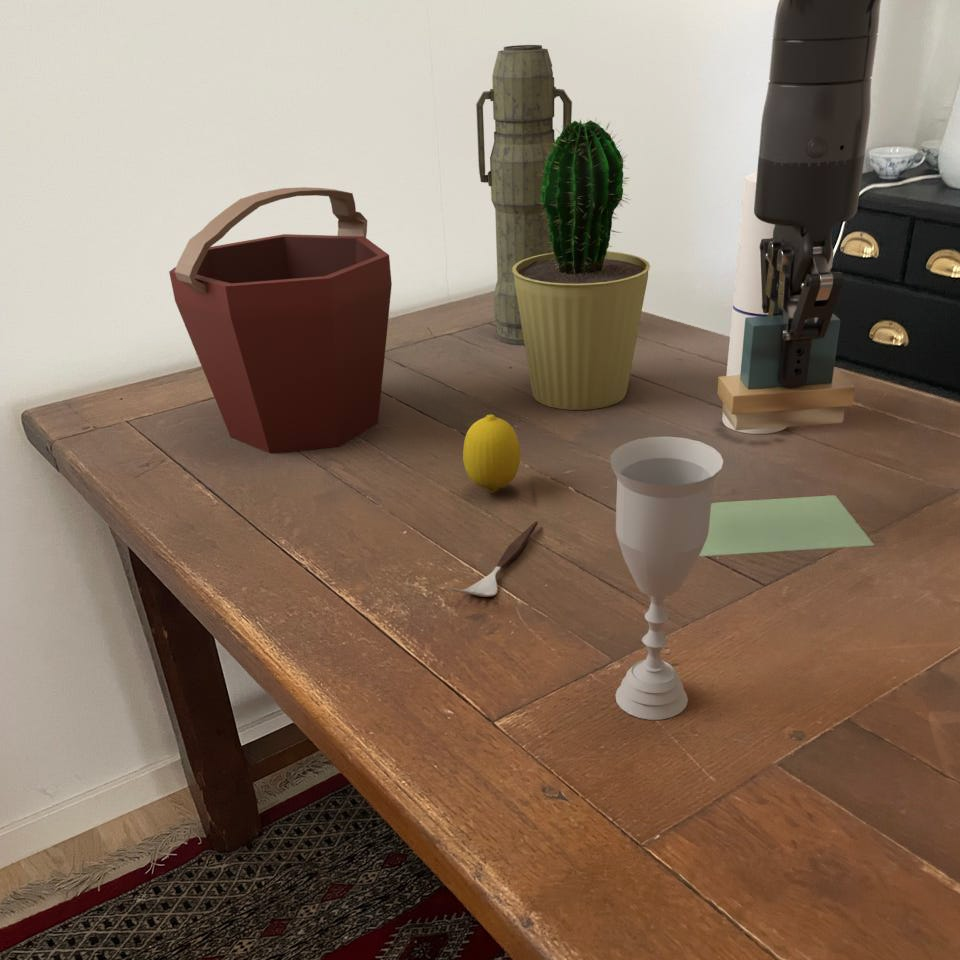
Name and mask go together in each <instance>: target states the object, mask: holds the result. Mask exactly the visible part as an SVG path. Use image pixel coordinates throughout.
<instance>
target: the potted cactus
mask: <svg viewBox="0 0 960 960" xmlns="http://www.w3.org/2000/svg"><path fill="white" fill-rule="evenodd" d="M594 119H595V120H594V121H593V120H591V119H590V120H589V119H588V118H587V119H586V120H587V121H586V122H583V121H582V119H580V120H579V121H577V120H573V121H571V123H570V124H568V125H566V127H565V128H563V127H561V128H562V131H561V132H560V131H559V129H556V131H557V132H558V133H559V136H557V137H556V139H555V136H554V137H553V138H554V139H553V140H554V141H555V142H554V143H552V142H551V143H552V145H553V150H552V153H551V154H550V153H549V152H548V151H547V152H548V153H549V156H548V158H547V160H546V162H545V161H544V162H545V168H544V171H543V172H544V173H543V174H541V173H539V174H541V175H542V176H543V178H542V184H543V185H542V187H541V198H539V199H541V202H540V203H535V204H542V205H543V206H542V207H543V208H544V210H545V212H546V214H547V216H548V228H549V230H548V231H549V233H550V234H549V233H548V234H547V236H548V235H550V242H545V243H551V244H550V245H552V248H553V252H554V253H553V252H552V253H548V254H542V255H537V256H533V257H530V258H527V259H524V260H522V261H519V262H518V263H516V264H515V265H514V266H513V267H512V272H513V273H514V281H515V288H516V294H517V300H518V306H519V313H520V319H521V325H522V331H523V337H524V344H525V345H524V350H525V357H526V363H527V368H528V375H529V381H530V386H531V387H530V388H531V393H532V396H533V398H534V400H536V401H537V402H538V403H540V404H542V405H544V406H547V407H549V408H554V409H560V410H569V411H586V410H589V411H590V410H596V409H603V408H606V407H610V406H613V405H615V404H617V403H619V402H621V401H622V400H623V399H625V397H626V395H627V392H628V388H629V381H630V377H631V371H632V366H633V361H634V354H635V350H636V343H637V339H638V333H639V329H640V323H641V317H642V312H643V306H644V300H645V295H646V290H647V285H648V280H649V271H650V268H651V265H650V263H649V261H647V260H646V259H644V258H642V257H640V256H637V255H634V254H629V253H626V252H618V251H609V250H608V249H609V248H610V247H611V248H612V247H613V248H614V246H613V245H610V241H611V232H612V233H614V235H616V233H617V234H618V233H619V234H621V233H623V232H622V231H616V230H613V229H612V227H613V220H618V217H615V216H617V214H616V213H615V210H616V209H620V206H621V207H624V206H623V205H624V204H623V203H622V202H624V203H627V205H628V204H629V205H630V203H629V202H627V200H628V201H631V199H630V198H628V196H629V194H625V193H624V189H625V188H624V187H625V186H626V185H627V179H629V177H624V171H623V170H624V162H625V159H626V157H628V154H627V153H626V154H625V156H624V152H622V150H620V149H619V147H620V145H621V144H620V145H618V143H620V142H621V141H622V139H620V140H619V141H618V143H616V142H615V141H614V138H615V137H616V135H617V134H614V135H613V137H612V136H611V135H612V134H613V131H611V132H610V133H609V132H607V130H608V129H609V126H610V124H611V122H607V125H606V127H605V128H603V127H601V126H600V125H601V123H599V122H601V120H600V119H599V122H597V118H594ZM567 120H568V119H566V122H567ZM568 122H569V121H568ZM547 142H548V141H547ZM551 143H550V144H551ZM617 145H618V146H617ZM545 147H547V146H546V145H545ZM548 148H549V149H550V147H549V146H548ZM551 149H552V147H551ZM621 152H622V153H621ZM544 159H546V158H545V157H544ZM626 169H629V168H628V167H626ZM536 173H537V172H536ZM536 175H538V174H536ZM541 175H539V176H541ZM538 187H540V186H538ZM623 195H625V196H627V197H624V196H623ZM624 199H626V200H624ZM537 206H538V205H537ZM539 208H541V207H539ZM537 209H538V208H537ZM544 210H543V211H544ZM543 211H542V212H543ZM543 214H544V213H543ZM543 214H541V215H543ZM541 215H540V216H541ZM544 215H545V214H544ZM614 215H615V216H614ZM540 216H539V217H540ZM543 218H544V217H543ZM543 218H542V219H543ZM542 219H541V220H542ZM541 220H540V221H541ZM546 221H547V220H546ZM545 226H546V225H545ZM545 237H546V236H545ZM550 248H551V247H550ZM550 248H549V249H550ZM547 250H548V249H547ZM547 250H546V251H547Z"/></svg>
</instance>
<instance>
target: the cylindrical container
mask: <svg viewBox="0 0 960 960" xmlns="http://www.w3.org/2000/svg"><path fill="white" fill-rule="evenodd" d="M756 180H757V172H752V173H748V174H747V175H745V176H744V180H743V190H742V200H741V212H740V223H739V224H740V225H739V233H738V234H739V235H738V244H737V245H738V246H737V255H736V258H737V259H736V265H735V266H736V267H735V276H734V277H735V278H734V286H733V287H734V288H733V299H732V308H731V309H732V311H731V322H730V331H729V332H730V333H729V341H728V343H729V345H728V353H727V354H728V355H727V364H726V375H725V376H733V375H740V374H741V362H742V351H743V339H744V328H745V318H747V317H761V316H768V313H763V309H762V283H761V257H760V243H761V240H762V239H769V238H773V230H774V227H775V225H774V224H769V223H766V222H763V221H761V220H759V219H758V218H757V217H756V216H755V214H754V203H755V191H756ZM777 285H778V284H777ZM721 419H722V421H721V422H722V424H723V425H724V427H727V428H728V429H730V430H732V431H735V432H739V433H743V434H744V433H745V434H752V435H765V434H767V435H768V434H774V433H778V432H781V431H783V430H785V429H786V428H787V427H775V428H762V429H748V430H735V429H734V427H733V426H732V424H731V423H730V422H729V420H728V419H727V417H726V416H725V414H724V413H723V412H722V418H721Z"/></svg>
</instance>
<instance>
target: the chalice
mask: <svg viewBox="0 0 960 960" xmlns="http://www.w3.org/2000/svg"><path fill="white" fill-rule="evenodd" d="M609 461H610V466H611V468H612V470H613V472H614V474H615V476H616V480H617V481H616V504H615V505H616V506H615V507H616V508H615V534H616V538H617V541H618V544H619V546H620V547H619V548H620V550H621V553H622V557H623V560H624V562H625V564H626V566H627V568H628V571H629V572H630V574H631V577H632V578H633V580H634V582H635V584H636V587H637V589H638V590H639V591H640V592H641V593H643V594H644V595H647V596H649V597H650V604H649V607H648V610H647V611H646V613H645V614H644V619H645V620H646V621H647V623H648V627H649V628H648V630H647V633H646V634H645V635H643V636H642V639H641V642H642V643H643V644H644V645H645V646H646V650H647V656H646V658H645V659H642V660H640V661H638V662H636V663H634V664H633V665H632V666H631V667H629V669H628V670H627V671H626V673H625V676H624V678H623V679H622V681H621V683H620V686H619V687H617V690H616V692H615V695H614V696H615V702H616V703H617V705H618V707H619V708H620V709H621V710H622V711H624V712H625V713H627V714H628V715H631V716H633V717H636V718H638V719H643V720H644V719H645V720H649V721H650V720H651V721H654V720H655V721H656V720H667V719H669V718H670V719H671V718H673V717H675V716H677V715H679V714H681V713H682V712H683V711H684V710H685V709H686V708H687V705H688V701H689V699H688V695H687V692H686V690H685V689H684V685H683V682H682V681H681V679H680V673H679V672H677V670H676V669H675V668H674V667H673V666H672V665H671V664H669V663H668V662H666V661H663V660H662V656H661V653H662V650H663V647H665V646H666V645H667V644H668V641H669V640H668V637H667V636H666V635H665V634H664V632H663V627H664V625H665V623H666V622H667V621H668V620H669V614H668V613H667V612H666V608H665V603H664V602H665V600H666V597H669V596H672V595H674V594H676V593H677V592H678V591H679V590H680V588H681V587H682V585H683V584H684V582H685V580H686V579H687V577H688V576H689V575H690V573H691V571H692V570H693V568H694V567H695V565H696V564H697V561H698V559H699V555H700V553H701V551H702V548H703V546H704V544H705V542H706V540H707V536H708V533H709V523H710V512H711V503H712V501H713V500H712V499H713V489H714V488H713V487H714V481H715V480H716V478H717V476H718V474H719V473H720V472H721V470H722V467H723V465H724V459H723V457H722V454H721V453H720V452H719V451H717V450H716V448H714V447H713V446H711V445H708V444H706V443H704V442H702V441H698V440H694V439H690V438H686V437H677V436H668V435H667V436H649V437H644V438H639V439H634V440H631V441H629V442H626V443H623V444H621V445H620V446H618V447H617V448H615V449H614V450H613V451H612V452H611V455H610V457H609Z"/></svg>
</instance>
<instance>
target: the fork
mask: <svg viewBox="0 0 960 960" xmlns="http://www.w3.org/2000/svg"><path fill="white" fill-rule="evenodd" d="M538 524H539V521H534V522H533V523H532V524H531V525H529V526H528V527H527V528H526V529H525V530H524V531H523V532H522V533H521V534H520V535H518V536H517V538H515V539H514V540H513V541H512V542H511V543H510V544H509V545H508V546H507V548H506V549H505V551H504V552H503V554H502V556H501V557H500V559H499V561H498V562H497V564H496V566H495V567H494V569H493V570H492V571H491V573H489V574H487V576H485V577H484V578H482V579H480V580H478V581H477V582H475V583H474V584H472V585H470V586H468V587H466V588H464V589H457V588H453V587H452V588H451V592H456V593H462V594H467V595H472V596H477V597H482V598H489V597H494V596H496V595H497V594H498V591H499V588H498V583H497V575H498V573H499V572H500V571H502V570H503V568H505V567H506V566H508V564H509V563H510V562H512V561H513V560H514V559H515V558H516V557H518V555H519V554H520V553H521V552H522V550H523V549H524V547H525V545H526V543H527V542H528V540H529V538H530V537H531V535H532V534H533V532H534V531H535V529H536V528H537V526H538Z"/></svg>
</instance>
